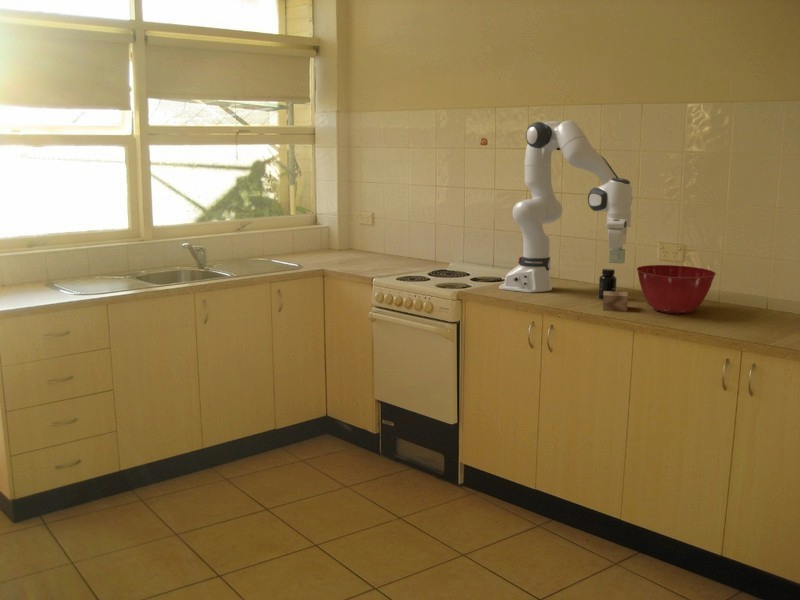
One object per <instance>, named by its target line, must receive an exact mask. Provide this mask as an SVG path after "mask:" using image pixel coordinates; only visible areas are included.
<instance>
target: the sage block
mask: <svg viewBox="0 0 800 600" xmlns="http://www.w3.org/2000/svg"><path fill="white" fill-rule="evenodd" d="M618 255H619V258H618V259H617V260H614V259H613V249H609V257H608V260H609V261H608V263H609V264H620V265H621V264H622V265H623V264H624V263H626V262H625V260H626V248H622V249H619V253H618Z"/></svg>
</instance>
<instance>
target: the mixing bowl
mask: <svg viewBox="0 0 800 600" xmlns="http://www.w3.org/2000/svg"><path fill="white" fill-rule="evenodd" d="M636 270H637V273H638V274H637V275H638V279H639V280H638V281H639V284H640V287H641V291H642V293H643V297H644V298H645V300H646V303H647V304H648V305H649V306H650V307H651V308H653V309H654V310H655V311H657V312H659V311H660V313H664V312H665V313H666V314H673V313H677V314H679V315H680V313H685V314H689V313H692V312H694V311H695V310H697V309H698V308H700V306H701V304H702V303H703V302H704V300H705V298H706V297H707V295H708V293H709V291H710V289H711V286H712V283H713V281H714V278H715V276H716V275H717V273H716V272H715V271H713V270H710V269H707V268H702V267H701V268H700V267H694V266H686V265H672V264H671V265H670V264H650V265H642V266H638V267H637V268H636ZM665 313H664V314H665Z"/></svg>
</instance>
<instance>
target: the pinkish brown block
mask: <svg viewBox="0 0 800 600" xmlns="http://www.w3.org/2000/svg"><path fill="white" fill-rule="evenodd" d="M628 296H629V294H628V291H616V292H615V291H604V292H603V299H602V311H608V310H617V311H616V312H627V311H628V300H629V297H628Z"/></svg>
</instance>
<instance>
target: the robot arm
mask: <svg viewBox="0 0 800 600" xmlns="http://www.w3.org/2000/svg"><path fill="white" fill-rule="evenodd" d="M525 138H526V140H525V141H526V142H527V145H526V148H525V155H524V185H525V186H526V188H527V189H529V191H530V194H531V197H532V198H526V199H523V200H520V201H518V202H516V203H515V204H514V206H513V208H512V212H511V213H512V218H513V221H515V223H516V224H517V225H518V227H519V229H520V231H521V236H522V240H523V241H522V243H523V247H522V248H523V249H522V250H523V251H522V253H523V254H522V255H520V257H519V258H518V259H517V261H518V265H516V266H515V267H513V268H512V269H511V270H509V271H508V272H507V273H506V275H505V278H504V283H501V284H500V285H499V287H498V289H499V290H505V291H512V292H522V293H538V292H539V293H540V292H541V293H542V292H549V291H552V290H553V287H552V284H551V283H552V282H551V279H550V278H551V276H550V269H551V256H550V242H551V240H550V238H549V236H548V235H547V234H546V233H545V231H544V226H543V225H546V224H551V223H554V222H556V221H558V220H559V219H560V218H561V217H562V214H563V207H562V204H561V202H560V201H559V200H558V199H557V197H556V195H555V193H554V189H553V184H552V153H553V152H554V151H555V150H556V151H561V153H562V156H563V157H564V160H565V161H566V162H567V163H568V164H569V165H570V166H572V167H574V168H576V169H581V170H584V171H588V172H590V173H593V174H594V175H596V177H597V178H599V180H600V182H601V183H602V185H597V186H595V187H593V188H591V190H589V193H588V195H587V204H588V207H589V208H590V209H591V210H592V211H593V212H598V213H599V212H606V229H607V241H608V243H607V244H608V249H609V250H610V249H613V259H614V260H617V259H618V258H619V255H618V253H619V249H623V246H624V245H625V244H627V231H628V228H630V227H631V226H632V210H631V206H632V202H633V187H632V184H631V182H630V180H628V179H626V178H623V177H621V178H620V177H619V176H618V175H617V174H616V172H615V171H614V169H613V168H612V166H611V165H610V164H609V162H608V161H607V159H606V158H604V157H603V155H601V154H600V153H599V152H598V151H597V150H596V149H595V148H594V147H593V145H592V143H591V142H590V141H589V140H588V138H587V136H586V134H585V132H584V131H583V129H581V127H580V126H579V125H578V124H577V123H576V122H575V121H573V120H570V119H569V120H565V121H564V120H563V121H557V120H550V121H536V122H534V123H533V122H532V123H531V124H529V126H528V127H527V129H526V132H525Z"/></svg>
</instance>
